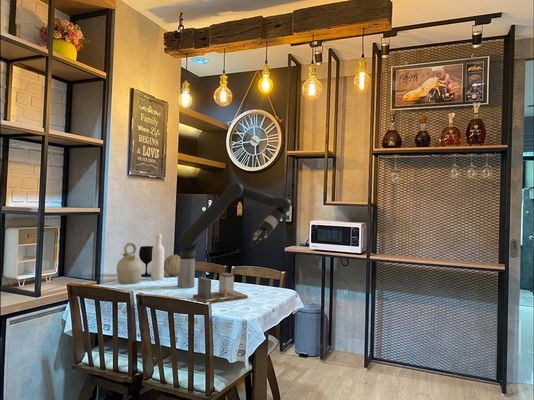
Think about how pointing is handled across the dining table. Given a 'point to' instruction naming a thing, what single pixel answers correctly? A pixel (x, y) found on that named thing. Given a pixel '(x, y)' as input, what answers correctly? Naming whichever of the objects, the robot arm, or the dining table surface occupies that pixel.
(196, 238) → the robot arm
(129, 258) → the jug
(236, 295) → the base
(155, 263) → the bottle
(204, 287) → the dark gray block
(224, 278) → the grey block
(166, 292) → the dining table surface
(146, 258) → the wine glass
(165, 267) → the cantaloupe
